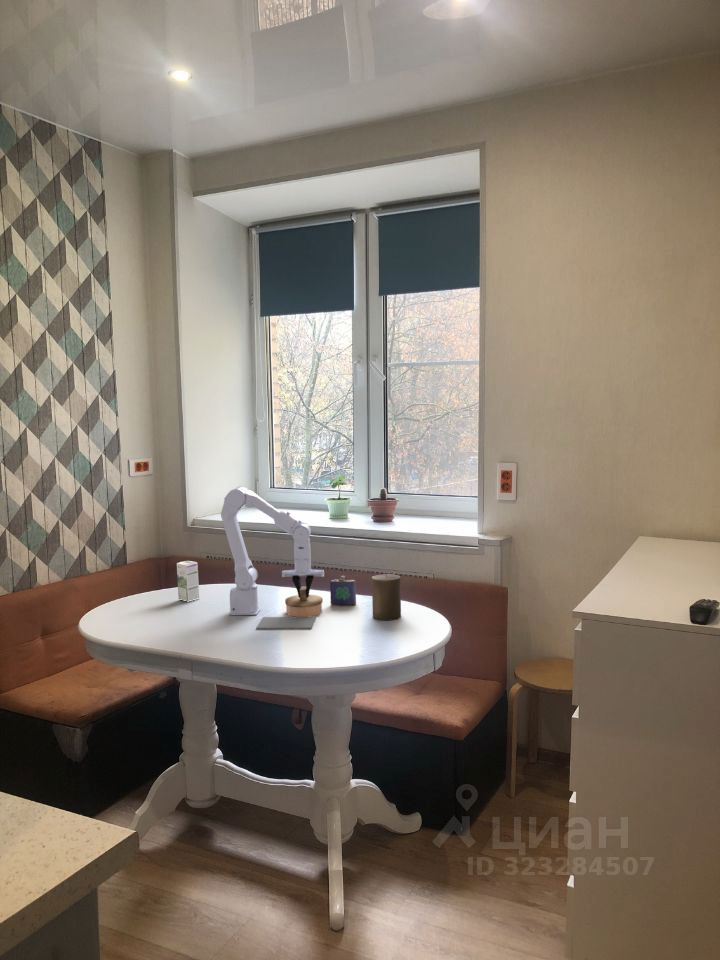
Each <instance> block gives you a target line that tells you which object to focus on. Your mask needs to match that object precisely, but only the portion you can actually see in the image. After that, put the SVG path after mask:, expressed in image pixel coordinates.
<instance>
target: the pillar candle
mask: <svg viewBox="0 0 720 960" xmlns="http://www.w3.org/2000/svg"><path fill="white" fill-rule="evenodd" d="M371 591H372V592H371V593H372V594H371V595H372V597H371V598H372V599H371V600H372V602H371V603H372V617H373V619H376V620H380V621H391V620H390V619H394V620H397V619H396V618H398V617H400V616H401V617H402V600H401V599H402V597H401V594H402V593H401V592H402V591H401V576H400V575H398V574H390V573H385V574H384V573H383V574H376V575H374V576H373V575H372V576H371ZM401 617H400V618H401Z"/></svg>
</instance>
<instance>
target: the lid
mask: <svg viewBox="0 0 720 960" xmlns="http://www.w3.org/2000/svg"><path fill="white" fill-rule="evenodd" d="M284 603H285V606H286V605H288V606H292V607H311V606H316V605H319V604H321V603H323V597H322V596H320V595H317V594H309V597H308V598H306V585H305V586H304V585H303V586H302V585H301V589H300V598H299V596H298V594H297V595H291V596H289V597H287V598H285V600H284Z"/></svg>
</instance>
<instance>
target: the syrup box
mask: <svg viewBox="0 0 720 960" xmlns="http://www.w3.org/2000/svg"><path fill="white" fill-rule="evenodd" d="M198 567H199V565H198V562H197V561H191V560H184V561H183V560H182V561H180V562H176V574H177V575H176V576H177V593H178V594H177V595H178V600H179V599H182V600H186V601H189V600H193V599H197V598H199V599H200V588H199V587H200V586H199V570H198V569H199V568H198Z"/></svg>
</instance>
